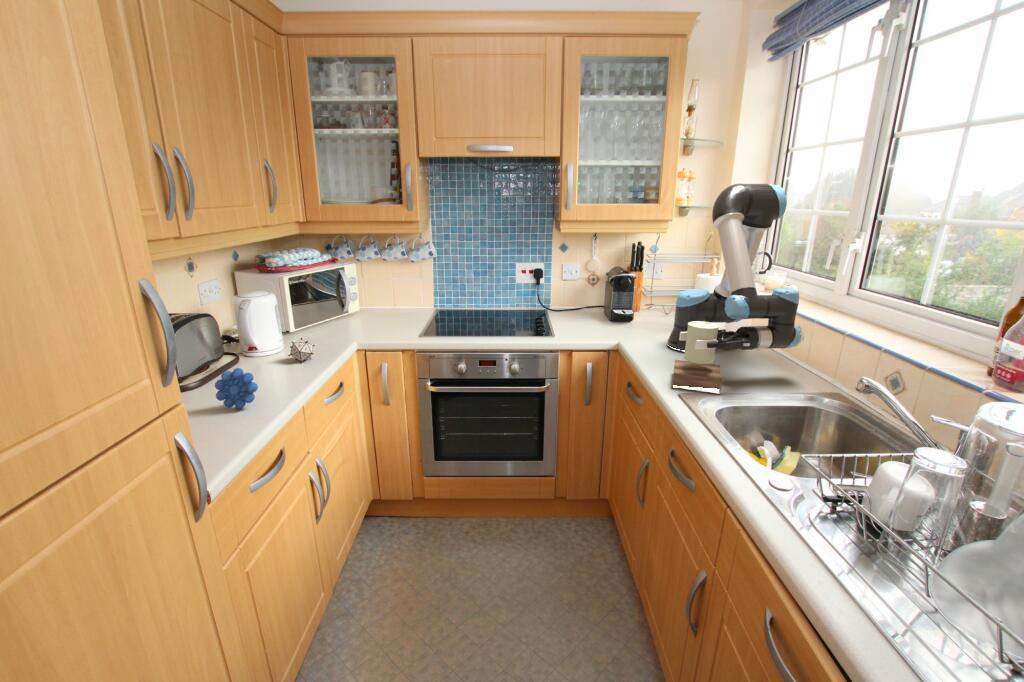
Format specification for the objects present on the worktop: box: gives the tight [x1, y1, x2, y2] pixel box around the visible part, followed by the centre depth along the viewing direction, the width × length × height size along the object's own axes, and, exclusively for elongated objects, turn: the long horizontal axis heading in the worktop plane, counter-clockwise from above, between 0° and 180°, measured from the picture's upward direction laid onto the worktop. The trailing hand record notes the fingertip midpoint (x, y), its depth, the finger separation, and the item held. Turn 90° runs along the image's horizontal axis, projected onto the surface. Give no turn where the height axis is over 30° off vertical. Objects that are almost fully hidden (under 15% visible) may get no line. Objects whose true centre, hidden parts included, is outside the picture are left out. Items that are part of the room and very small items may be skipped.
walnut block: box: [671, 359, 723, 390], centre depth 152 cm, size 14×14×5 cm
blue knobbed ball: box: [214, 367, 259, 410], centre depth 129 cm, size 12×7×12 cm, turn 91°
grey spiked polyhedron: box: [287, 337, 315, 364], centre depth 168 cm, size 9×8×10 cm
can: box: [683, 321, 720, 364], centre depth 148 cm, size 9×9×12 cm
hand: (688, 340), depth 147 cm, fingers closed on can, 9 cm apart
